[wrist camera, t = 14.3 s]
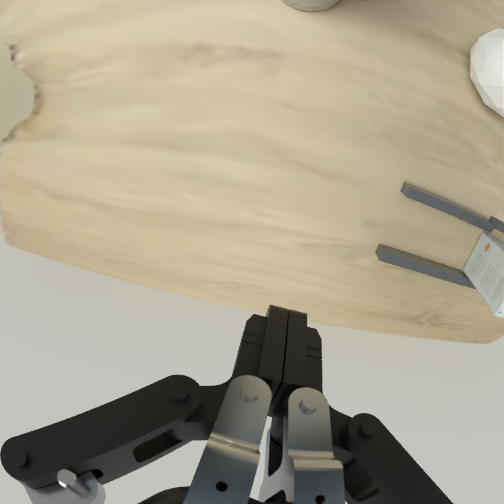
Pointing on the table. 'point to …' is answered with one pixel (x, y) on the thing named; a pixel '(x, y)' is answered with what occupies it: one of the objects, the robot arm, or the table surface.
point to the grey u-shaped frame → (421, 263)
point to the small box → (488, 272)
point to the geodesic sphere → (489, 69)
